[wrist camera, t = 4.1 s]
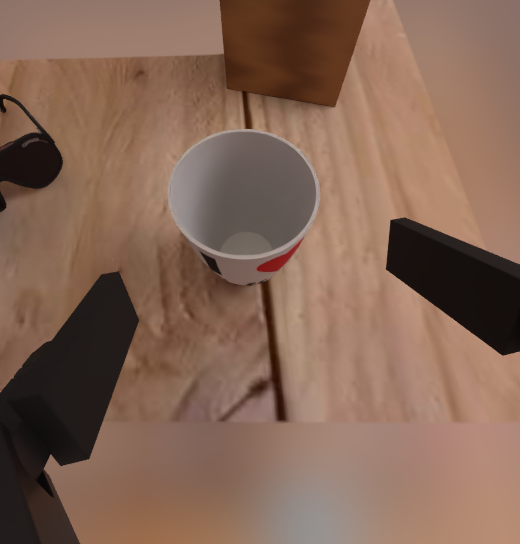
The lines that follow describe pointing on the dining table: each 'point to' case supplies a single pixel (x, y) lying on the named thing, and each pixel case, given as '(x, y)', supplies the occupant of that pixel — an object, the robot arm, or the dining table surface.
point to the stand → (290, 46)
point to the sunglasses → (28, 157)
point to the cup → (244, 202)
